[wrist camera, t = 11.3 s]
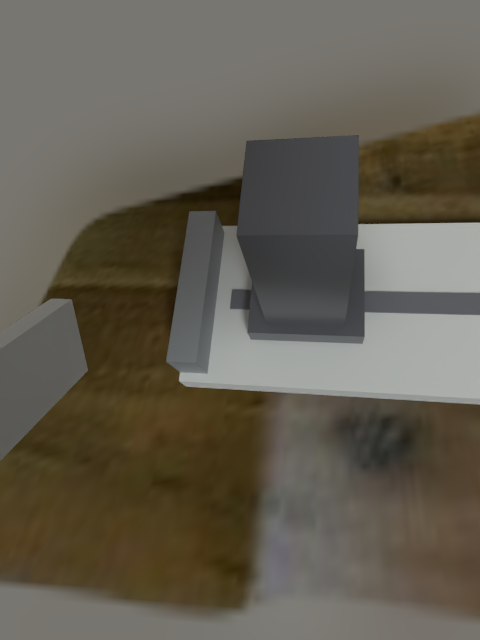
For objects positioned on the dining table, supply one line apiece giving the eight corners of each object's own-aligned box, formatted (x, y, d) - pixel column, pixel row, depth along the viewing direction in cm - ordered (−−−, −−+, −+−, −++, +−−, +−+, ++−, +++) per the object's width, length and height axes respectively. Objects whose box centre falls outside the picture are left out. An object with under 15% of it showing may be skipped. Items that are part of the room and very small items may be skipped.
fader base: (747, 234, 23) (825, 189, 20) (811, 424, 20) (919, 412, 16) (206, 238, 29) (190, 203, 26) (186, 386, 26) (164, 371, 22)
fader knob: (362, 259, 25) (388, 122, 15) (362, 343, 23) (391, 248, 14) (257, 259, 26) (222, 131, 16) (250, 339, 24) (206, 248, 15)
